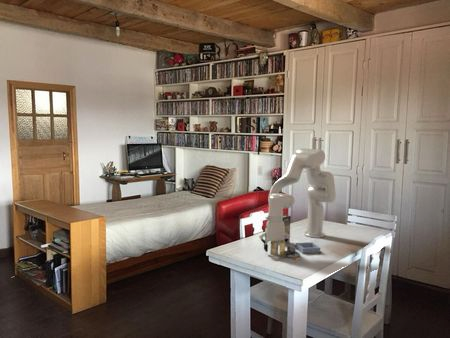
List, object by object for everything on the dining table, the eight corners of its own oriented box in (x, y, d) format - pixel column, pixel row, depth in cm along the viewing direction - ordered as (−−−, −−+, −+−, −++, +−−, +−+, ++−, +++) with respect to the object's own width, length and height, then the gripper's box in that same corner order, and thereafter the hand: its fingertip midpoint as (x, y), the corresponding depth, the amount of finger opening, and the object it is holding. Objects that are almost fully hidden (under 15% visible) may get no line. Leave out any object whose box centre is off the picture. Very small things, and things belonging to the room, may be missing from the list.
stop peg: (269, 253, 208) (269, 240, 207) (276, 253, 209) (276, 240, 208) (271, 255, 204) (272, 242, 204) (278, 255, 205) (279, 242, 204)
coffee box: (280, 245, 222) (281, 218, 221) (271, 243, 227) (272, 216, 225) (289, 242, 229) (291, 215, 227) (281, 240, 233) (282, 214, 232)
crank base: (280, 252, 210) (280, 250, 209) (295, 252, 211) (296, 250, 211) (288, 260, 198) (288, 258, 198) (304, 259, 200) (304, 257, 199)
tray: (295, 248, 218) (296, 243, 218) (312, 247, 220) (312, 242, 220) (302, 253, 208) (303, 248, 208) (320, 253, 210) (320, 247, 210)
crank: (290, 251, 209) (291, 238, 208) (297, 253, 206) (297, 240, 205) (277, 255, 202) (277, 242, 201) (283, 257, 199) (284, 244, 198)
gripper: (261, 221, 199) (260, 253, 201) (293, 220, 203) (292, 252, 204) (257, 217, 207) (256, 249, 208) (288, 216, 210) (287, 248, 212)
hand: (274, 250), depth 206 cm, fingers open, 8 cm apart
